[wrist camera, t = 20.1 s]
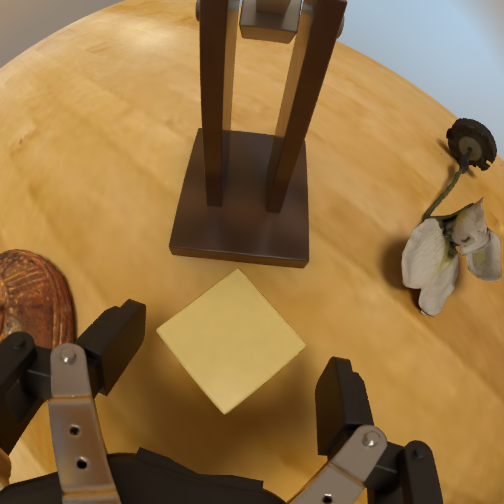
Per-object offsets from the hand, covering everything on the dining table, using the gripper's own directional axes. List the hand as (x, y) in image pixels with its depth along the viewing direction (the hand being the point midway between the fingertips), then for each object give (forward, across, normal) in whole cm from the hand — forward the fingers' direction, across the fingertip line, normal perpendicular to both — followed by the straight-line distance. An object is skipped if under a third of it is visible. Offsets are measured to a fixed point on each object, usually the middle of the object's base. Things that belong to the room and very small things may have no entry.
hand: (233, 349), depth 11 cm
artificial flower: (+16, -17, -7) cm, 24 cm away
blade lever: (-3, +1, -12) cm, 12 cm away
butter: (+4, 0, +4) cm, 6 cm away
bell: (+1, +16, +7) cm, 17 cm away
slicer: (+12, +2, -4) cm, 13 cm away
